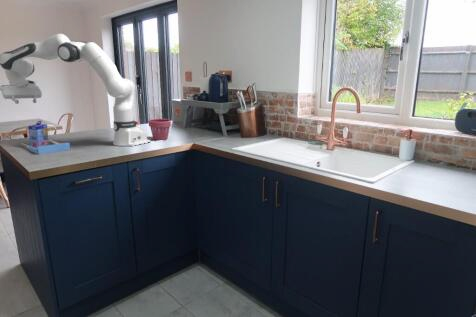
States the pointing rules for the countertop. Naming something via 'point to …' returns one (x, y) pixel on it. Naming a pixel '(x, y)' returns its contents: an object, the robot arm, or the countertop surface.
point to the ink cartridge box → (38, 134)
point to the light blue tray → (48, 147)
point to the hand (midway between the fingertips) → (26, 102)
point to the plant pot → (160, 128)
